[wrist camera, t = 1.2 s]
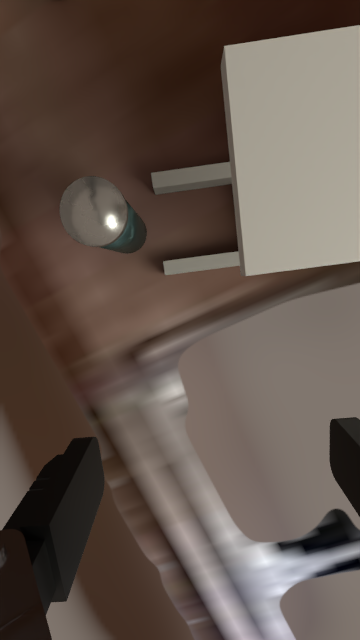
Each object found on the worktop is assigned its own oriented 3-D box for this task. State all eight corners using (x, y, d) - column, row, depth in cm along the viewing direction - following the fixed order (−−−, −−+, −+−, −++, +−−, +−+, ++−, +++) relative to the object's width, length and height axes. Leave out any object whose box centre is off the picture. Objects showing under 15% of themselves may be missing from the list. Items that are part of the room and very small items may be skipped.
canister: (101, 249, 38) (54, 238, 24) (109, 206, 37) (65, 169, 23) (142, 258, 38) (119, 252, 24) (151, 215, 37) (132, 184, 23)
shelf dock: (166, 277, 38) (148, 288, 18) (153, 177, 37) (114, 62, 16) (296, 260, 38) (426, 252, 18) (289, 157, 36) (426, 14, 16)
